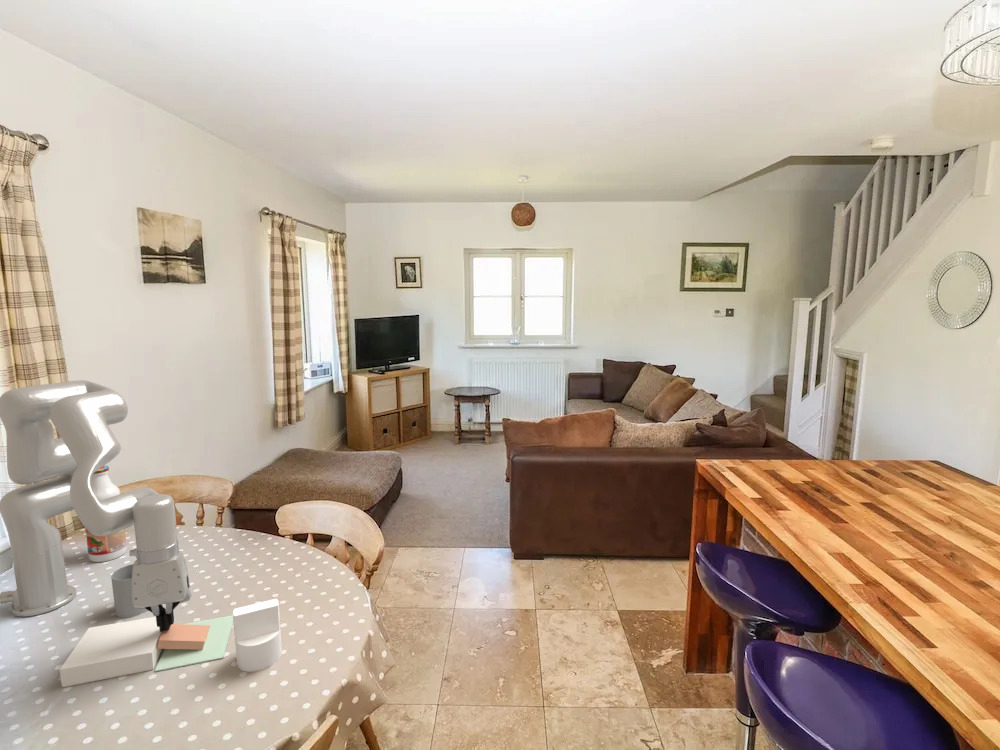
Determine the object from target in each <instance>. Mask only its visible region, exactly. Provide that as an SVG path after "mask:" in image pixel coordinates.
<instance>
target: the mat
mask: <svg viewBox="0 0 1000 750" xmlns="http://www.w3.org/2000/svg"><path fill="white" fill-rule="evenodd" d="M185 624H187V625H210V628H209V632H208V636H207V639H206V642H205V645H204V647H203V650H191V649H163V650H162V652H161V655H160V657H159V659H158V661H157V663H156V666H155V668H154V673H156V672H163V671H168V670H172V669H177V668H182V667H186V666H187V667H188V666H192V665H197V664H202V663H207V662H212V661H217V660H222V659H224V658H225V655H226V654H225V653H226V651H227V647H228V642H229V639H230V635H231V631H232V629H233V626H234V620H233V614H231V615H227V616H222V617H221V616H220V617H216V618H210V619H204V620H198V621H194V622H193V621H192V622H188V623H185Z"/></svg>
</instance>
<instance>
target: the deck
mask: <svg viewBox="0 0 1000 750" xmlns="http://www.w3.org/2000/svg"><path fill="white" fill-rule="evenodd" d="M161 634H162V632H160V628H159V627H157V623H156V616H152V617H145V618H140V619H134V620H129V621H128V620H127V621H122V622H116V623H115V622H114V623H110V624H104V625H98V626H93V627H88V628H87V630H86V632H85V633H84V634H83V636H82V637H81V639H80V640H79V642H78V643H77V644H76V645H75V647H74V648H73V650H72V651H71V653H70V654H69V656H68V657H67V658H66V660H65V661H64V663H63V664H62V665H61V667H60V669H59V676H60V683H61V688H66V687H71V686H76V685H77V686H78V685H81V684H87V683H91V682H95V681H96V682H97V681H100V680H101V681H103V680H106V679H111V678H117V677H122V676H126V675H133V674H137V673H142V672H143V673H144V672H147V671H153V670H155V668H156V666H157V664H158V662H159V659H160V657H161V655H162V653H163V651H164V649H157V645H158V641H159V638H160V636H161Z"/></svg>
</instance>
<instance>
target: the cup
mask: <svg viewBox="0 0 1000 750" xmlns="http://www.w3.org/2000/svg"><path fill="white" fill-rule="evenodd" d="M133 564H134V563H133ZM133 564H128V565H125V566H123V567H120V568H119V569H117V570H115V571H113V572H112V574H111V575H110V578H111V579H110V580H111V586H112V588H111V589H112V593H113V594H112V596H113V603H114V612H115V615H116V617H118V618H122V619H124V618H133V617H137V616H139V615H142V614H145V613H147V612H149V611H148V610H147V609H135V608H134V605H133V601H132V572H133Z"/></svg>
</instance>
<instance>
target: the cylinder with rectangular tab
mask: <svg viewBox="0 0 1000 750" xmlns="http://www.w3.org/2000/svg"><path fill="white" fill-rule="evenodd" d="M232 615H233V620H234V622H233V630H234V643H235V644H234V645H235V652H236V653H235V655H236V657H235V658H236V665H237V667H238V669H240V670H241V671H243V672H250V673H251V672H258V671H262V670H265V669H268V668H269V667H270V666H273V665H274V664H275V663H277V662H278V661H279V659H280V658H281V656H282V654H283V653H282V651H283V650H282V635H281V634H282V632H281V617H280V616H281V615H280V602H279V600H278V598H273V599H268V600H264V601H261V602H256V603H253V604H249V605H244V606H240V607H236V608H233V611H232ZM281 653H282V654H281Z"/></svg>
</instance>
